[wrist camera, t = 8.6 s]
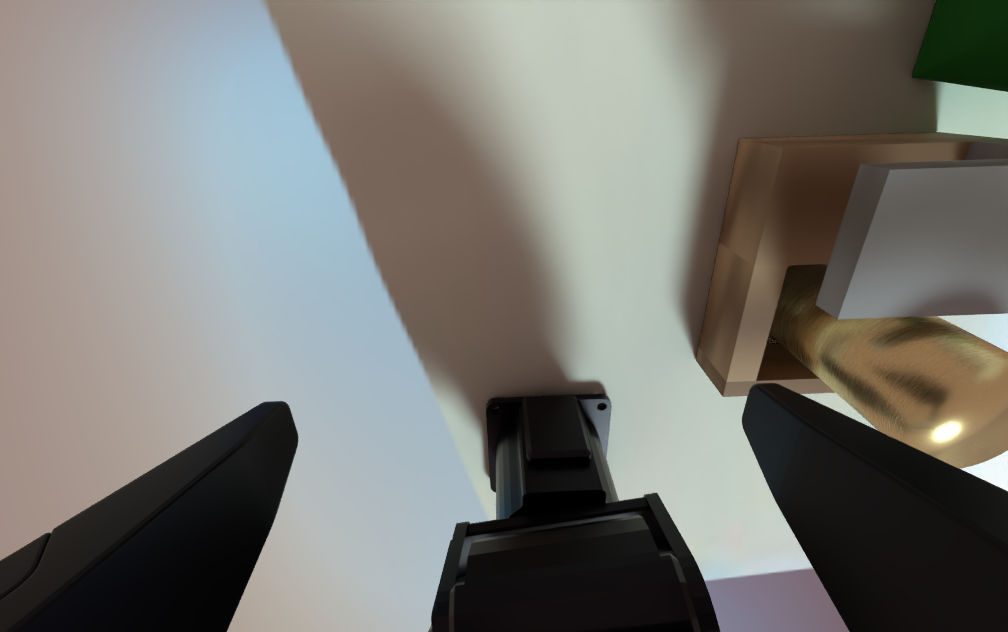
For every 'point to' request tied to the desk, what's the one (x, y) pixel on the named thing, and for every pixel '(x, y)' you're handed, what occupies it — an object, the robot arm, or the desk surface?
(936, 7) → the milk carton
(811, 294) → the peg
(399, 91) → the desk surface
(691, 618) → the robot arm
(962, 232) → the socket block
